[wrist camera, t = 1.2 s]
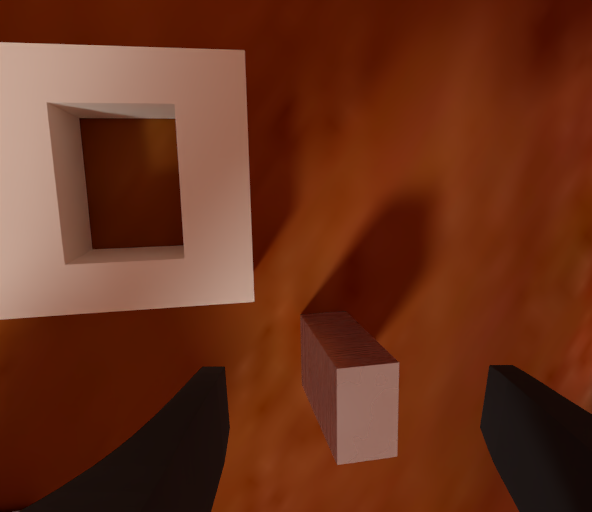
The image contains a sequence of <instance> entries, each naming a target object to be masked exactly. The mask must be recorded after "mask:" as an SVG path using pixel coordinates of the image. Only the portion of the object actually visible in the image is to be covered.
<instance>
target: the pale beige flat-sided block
mask: <svg viewBox="0 0 592 512" xmlns="http://www.w3.org/2000/svg"><path fill="white" fill-rule="evenodd" d="M79 118H168V119H176V135H177V150H178V166H179V181H180V196H181V212H182V227H183V242H184V245H178V246H156V247H134V248H112V249H92V239H91V229H90V220H89V210H88V200H87V190H86V180H85V170H84V160H83V150H82V140H81V130H80V121H79ZM245 302H254V279H253V253H252V226H251V200H250V174H249V147H248V121H247V95H246V68H245V50H225V49H195V48H164V47H133V46H102V45H71V44H41V43H10V42H0V320H1V319H15V318H29V317H44V316H58V315H72V314H87V313H101V312H116V311H130V310H144V309H159V308H173V307H187V306H202V305H216V304H230V303H245Z"/></svg>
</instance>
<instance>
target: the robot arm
mask: <svg viewBox="0 0 592 512" xmlns="http://www.w3.org/2000/svg"><path fill="white" fill-rule="evenodd" d="M480 428H481V431H482V433H483V436H484V439H485V442H486V445H487V447H488V450H489V452H490V455H491V457H492V460H493V462H494V464H495V466H496V468H497V470H498V472H499V474H500V476H501V478H502V480H503V482H504V484H505V485H506V487H507V489H508V491H509V493H510V495H511V497H512V498H513V500H514V502H515V504H516V506H517V508H518V510H519V511H520V512H592V414H590V413H589V412H587V411H585V410H584V409H582V408H581V407H579V406H577V405H576V404H574V403H573V402H571V401H569V400H568V399H566V398H565V397H563V396H562V395H560V394H558V393H557V392H555V391H554V390H552V389H551V388H549V387H548V386H546V385H544V384H543V383H541V382H540V381H538V380H537V379H535V378H533V377H532V376H530V375H529V374H527V373H525V372H524V371H522V370H520V369H519V368H517V367H515V366H513V365H490V366H489V372H488V379H487V385H486V392H485V399H484V405H483V412H482V418H481V425H480ZM229 429H230V425H229V413H228V401H227V389H226V377H225V367H202V368H201V369H200V370H199V371H198V372H197V373H196V374H195V375H194V376H193V377H192V378H191V379H190V380H189V381H188V382H187V383H186V385H185V386H184V387H183V388H182V389H181V390H180V391H179V392H178V393H177V394H176V395H175V396H174V397H173V398H172V399H171V400H170V401H169V402H168V403H167V404H166V405H165V406H164V407H163V408H162V409H161V410H160V411H159V412H158V413H157V414H156V415H155V416H154V417H153V418H152V419H151V420H150V421H148V422H147V423H146V424H145V425H144V426H143V427H142V428H141V429H140V430H139V431H137V432H136V433H135V434H134V435H133V436H132V437H131V438H129V439H128V440H127V441H126V442H124V443H123V444H122V445H121V446H120V447H118V448H117V449H116V450H114V451H113V452H112V453H110V454H109V455H108V456H106V457H105V458H104V459H102V460H101V461H100V462H98V463H97V464H95V465H94V466H93V467H91V468H89V469H88V470H86V471H85V472H83V473H82V474H80V475H79V476H77V477H76V478H74V479H73V480H71V481H70V482H68V483H67V484H65V485H64V486H62V487H61V488H59V489H57V490H56V491H54V492H52V493H51V494H49V495H47V496H46V497H44V498H42V499H40V500H39V501H37V502H35V503H33V504H32V505H30V506H28V507H26V508H24V509H23V510H21V511H14V512H211V510H212V506H213V502H214V499H215V495H216V492H217V488H218V484H219V481H220V477H221V473H222V470H223V466H224V462H225V455H226V449H227V443H228V436H229Z"/></svg>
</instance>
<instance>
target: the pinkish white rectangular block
mask: <svg viewBox="0 0 592 512" xmlns="http://www.w3.org/2000/svg"><path fill="white" fill-rule="evenodd" d="M301 365H302V386H303V388H304V391H305V393H306V395H307V398H308V400H309V402H310V404H311V407H312V409H313V411H314V413H315V416H316V418H317V420H318V423H319V425H320V427H321V429H322V432H323V434H324V436H325V438H326V441H327V443H328V445H329V448H330V450H331V452H332V454H333V457H334V459H335V461H336V463H337V465H340V464H347V463H354V462H361V461H368V460H375V459H382V458H389V457H397V439H398V391H399V362H398V361H397V360H396V359H395V358H394V357H393V356H392V355H391V354H390V353H389V352H388V351H387V350H386V349H385V348H383V347H382V346H381V345H380V344H379V343H378V342H377V341H376V340H375V339H374V338H373V337H372V336H371V335H370V334H369V333H368V332H367V331H366V330H365V329H364V328H363V327H362V326H361V325H360V324H359V323H358V322H357V321H356V320H355V319H354V318H352V317H351V316H350V315H349V314H348V313H347V312H346V311H339V312H326V313H313V314H301Z"/></svg>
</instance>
